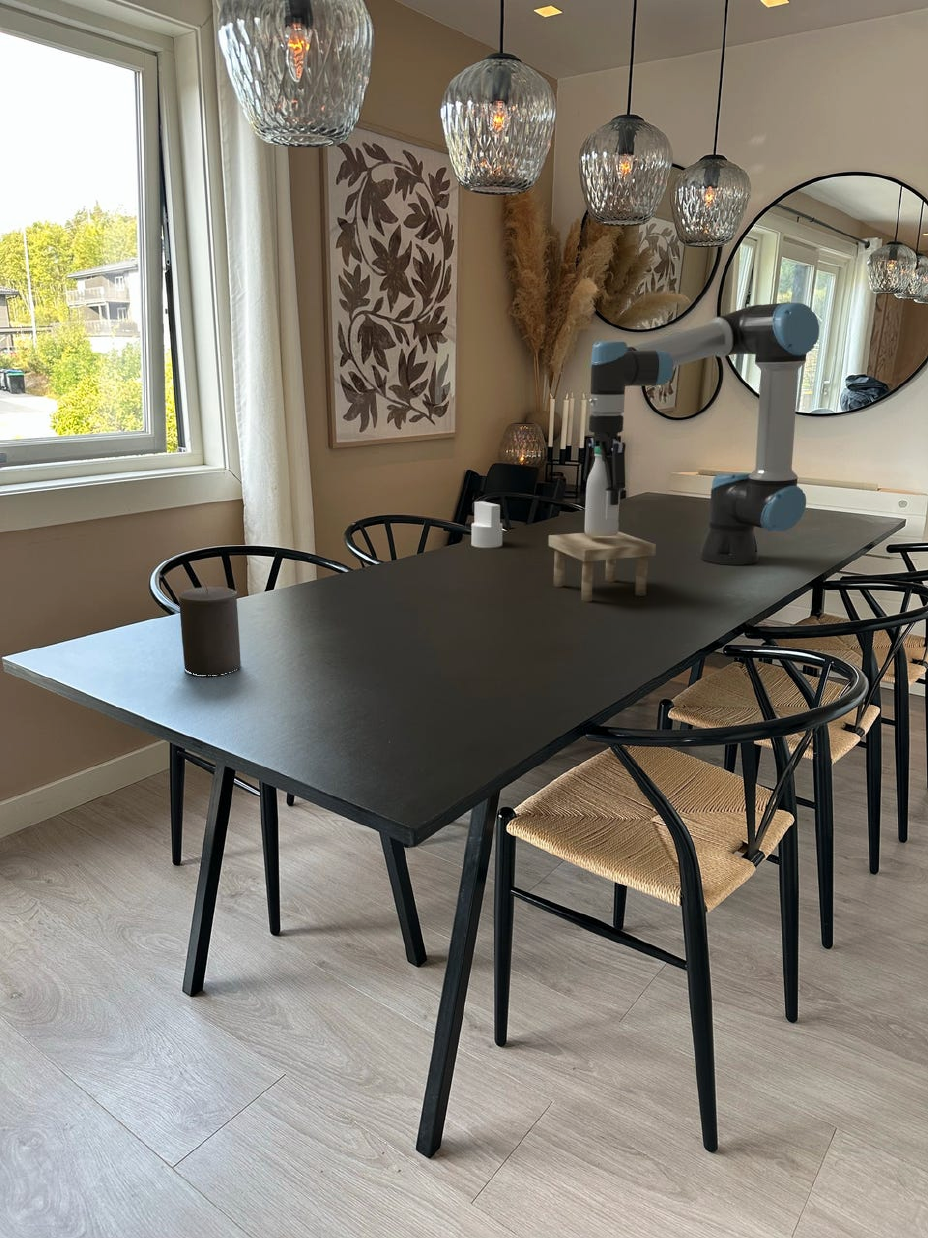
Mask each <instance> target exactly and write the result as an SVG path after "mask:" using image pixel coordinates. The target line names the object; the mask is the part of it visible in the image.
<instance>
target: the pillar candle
mask: <svg viewBox="0 0 928 1238" xmlns="http://www.w3.org/2000/svg"><path fill="white" fill-rule="evenodd" d="M237 594H238V591H237V590H234V589H231V588H228V587H219V586H218V587H217V586H215V587H214V586H207V585H205V586H204V587H194V588H191V589H185V590H183V591H181V592H180V593H179V596H178V600H179V601H178V602H179V617H180V629H181V643H182V651H183V652H182V653H183V665H184V670H185V669H186V670H187V671H189V672H191V673H192V674H193V673H194V674H197V675H206V676H208V675H211V676H212V675H221V674H225V673H229V672H232V671H234V670H236V669H238V668H239V667H240V665H242V662H241V648H240V633H239V631H240V630H239V629H240V628H239V615H238V613H239V612H238V600H237V599H238V598H237V597H238V596H237ZM240 668H241V667H240ZM240 668H239V669H240ZM239 669H238V670H239Z"/></svg>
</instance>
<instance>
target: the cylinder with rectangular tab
mask: <svg viewBox="0 0 928 1238" xmlns="http://www.w3.org/2000/svg"><path fill="white" fill-rule="evenodd" d="M473 518H474V522H472V523H471V541H470V542H471V546H473V547H475V548H482V549H491V548H499V547H502V546H503V523H501V505H500V504H496V503H491V502H487V501H483V500H481V501H474V517H473Z"/></svg>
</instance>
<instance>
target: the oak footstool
mask: <svg viewBox="0 0 928 1238" xmlns="http://www.w3.org/2000/svg"><path fill="white" fill-rule="evenodd" d="M548 547H550V548H552V549H554V555H553V556H554V557H553V559H554V562H553V564H554V565H553V586H554V587H556V588H561V587H562V588H563V587H564V585H565V584H564V583H565V561H566V560H565V559H566V558H565V556H566V555H568V556H571V557H573V558H575V559H578V560H580V561H582V567H581V571H582V572H581V591H580V595H581V596H580V601H581V602H585V603H586V602H589V603H590V602H592V601H593V581H594V580H593V578H594V562H597V561H605V575H604V577H605V578H604V581H605V582H608V583H613V582H616V575H617V574H616V573H617V572H616V571H617V560H619V559H620V560H621V559H627V558H628V559H629V558H636V575H635V592H634V595H635V596H638V597H644V595H645V596H646V594H647V581H648V580H647V579H648V564H649V563H648V561H649V557H652V556H656V549H657V548H656V543H652V542H649V541H647V540H644V539H642V538H638V537H636V536H632V535H629V534H627V533H624V532H622V531H619V530H618V533H617V535H613V536H592V535H588V534H586V533H585V532H577V533H576V532H574V533H563V534H562V533H561V534H550V535H548ZM565 554H566V555H565Z"/></svg>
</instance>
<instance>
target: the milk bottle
mask: <svg viewBox="0 0 928 1238" xmlns="http://www.w3.org/2000/svg"><path fill="white" fill-rule="evenodd" d="M594 452H595V455H594V456H595V462H594V465H593V468H592V470H591V472H590V474H588V475H589V477H588V480H587V481H586V487H585V508H584V511H585V512H584V533H586V534H588V535H592V536H613V535H617V533H618V531H619V525H620V523H619V521H620V504H621V502H620V499H621V490H619V501H618V518H617V519H610V520H606V519H605V513H606V489H607V488H608V487H609V486H608V480H607V473H606V467H605V462H604V461H603V460H602V449H600V447H599V446H595V450H594Z"/></svg>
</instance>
